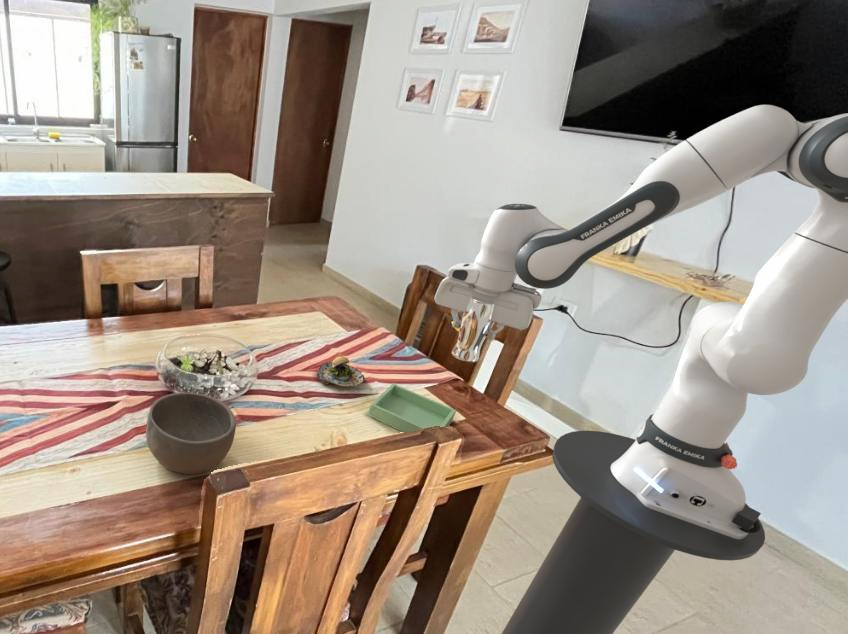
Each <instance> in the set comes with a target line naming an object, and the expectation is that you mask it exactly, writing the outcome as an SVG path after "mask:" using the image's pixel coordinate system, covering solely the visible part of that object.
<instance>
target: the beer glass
mask: <svg viewBox="0 0 848 634" xmlns="http://www.w3.org/2000/svg"><path fill="white" fill-rule="evenodd" d="M495 305H497V304H491V303H485V302H481V301H478V300H476V299H474V298H472V297H471V296H470V299H469V301H468V303H467V305H466V308H465V310H464V312H461V316H460V319H459V320H460V327H459V329H458V336H457V340H456V342H455V344H454V346H453V347H452V349H451V351H450V353H451V355H452V356H453V357H454V358H456V359H457V360H459V361H463V362H466V363H476V362H478V361H479V359H480V354H481V348H482V346H483V343H484V341H485V340H486V339H487V338H486V337H487V334H488V332H489V331H490V330H492V328H493V327H494V324H495V322H493V321H491V320H492V316H493V312H494V308H495Z"/></svg>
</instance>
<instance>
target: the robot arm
mask: <svg viewBox="0 0 848 634" xmlns="http://www.w3.org/2000/svg"><path fill="white" fill-rule="evenodd" d="M773 172H777V173H779V174H780V175H782V176H784V177H785V178H787V179H789V180H791V181H793V182H795V183H798V184H800V185H802V186H804V187H808V188H810V189H816V191H817V193H818V199H817V203H816V205H815V207H814V209H813V210H812V212H811V215H809V216H808V218H807V219H806V220H804V221H803V223H801V224H800V225H799V226H798V227H797V228H796V229H795V231H794V232H793V233H791V235H790V236H789V238H787V240H786V241H785V242H784V243H783V244H782V245H781V246H780V247H779V248H778V250H777V251H775V252H774V254H772V256H771V257H769V259H768V260H767V261H766V263H764V264H763V265H762V267H761V268H760V269H759V270H758V271H757V273H756V275H755V277H754V282H753V286H752V288H751V290H750V292H749V294H748V296H747V298H746V299H745V301H744V303H740V302H735V301H720V302H719V301H718V302H714V303H711V304H708V305H706V306H704V307H703V308H701V309H699V310H698V311H697V312H696V313H695V314H694V315H693V318H692V320H691V322H690V328H689V334H688V337H687V340H686V343H685V345H684V347H683V350H682V353H681V356H680V359H679V361H678V365H677V368H676V370H675V374H674V376H673V379H672V381H671V383H670V385H669V387H668V389H667V391H666V393H665V394H664V396H663V398H662V400H661V401H660V402H659V404H658V406H657V408H656V409H655V411H654V413H652V414H650V415H649V416H647V417H648V418H647V419H646V420H645V421H644V422H643V424H642V426H641V427H640V428H639V431H638V432H637V434H636V439H635V440H636V441H635V442H634V443H633V444H632V446H631V447H630V448H629V449H628V450H627V451H626V452H625V453H624V454H623V455H622V456H621V457H620V458H619V459H617V460H616V461H615V462H613V463H612V464H611V472H612V474H613V476H614V477H615V478H616V479H617V481H618V482H619V483H620V484H622V485H623V486H624V487H625V488H626V489H628V490H629V491H630V492H632V493H633V494H634V495H635V496H636V497H637V498H638V499H639V500H640V501H641V502H642V503H643V504H644V505H645V506H646V507H648V508H650V509H652V510H655V511H658V512H661V513H664V514H667V515H669V516H672V517H675V518H678V519H681V520H684V521H686V522H689V523H692V524H695V525H698V526H701V527H703V528H706V529H709V530H712V531H715V532H718V533H721V534H723V535H726V536H729V537H732V538H735V539H743V538H745V537H746V536H747V535H748V533H755V532H758V531H759V530H760V525H759V522H758V521H756V520H757V519H759V517H760V516H761V514H762V513H761V512H759V511H758V510H756V509H754V508H752V507H750V506H749V505H748V506H749V507H748V506H746V505H745V503H746V502H747V501H746V499H747V497H746V492H745V488H744V487H743V486H744V485H742V483H741V481H740V480H739V479H738V478H737V477H736V475H735V474H734V473H733V472H732V470H733V469H736V468H737V467H738V463H737V462H738V461H737V459H736V457H734V456H733V454H734V453H733V450H732V449H731V448H730V445H729V443H728V442H726V441H727V439H728V438H729V437H730V435H731V434H732V432H733V431H734V430H735V429H736V427H737V425H738V424H739V423H740V421H741V420H742V418H743V417H744V415H745V413H746V410H747V401H748V395H749V394H751V395H757V396H772V395H777V394H782V393H785V392H788V391H790V390H792V389H794V388H795V387H797V386H798V385H799V384H800V383H802V382H803V380H804V379H805V378H806V375H807V373H808V370H809V369H808V368H809V360H810V357H811V354H812V353H813V350H814V349H815V346H816V345H817V344H818V341H819V340H820V339H821V337H822V335H823V333H824V332H825V330H826V329H827V327H828V325H829V324H830V322H831V321H832V319H833V318H834V316H835V315H836V313H837V312H838V311H839V309H840V308H841V307H842V306H843V305H844V303H846V302H847V301H848V113H840V114H837V115H833V116H830V117H823V118H818V119H813V120H807V121H802V122H801V121H799V120H797V119H796V118H795V117H794V116H793V115H792V114H791V113H790V112H789V111H788V110H786V109H784V108H782V107H779V106H776V105H773V104H759V105H754V106H752V107H749V108H746V109H743V110H741V111H739V112H737V113H735V114H733V115H730V116H728V117H726V118H724V119H721V120H720V121H718V122H715V123H713V124H711V125H709V126H708V127H706V128H704V129H702V130H700V131H699V132H696V133H694V134H693V135H692V136H689V137H688V138H686V139H685V140H683V141H681V142H680V143H678V144H676V145H675V146H673V147H672V148H670V149H668V150H667V151H665V152H664V153H663V154H662V155H660V156H659V157H658V158H656V159H655V160H654V161H653V162H651V163H650V164H649V165H648V166H647V167H645V169H643V170H642V172H641V173H640V174H639V176H638V177H637V179H636V180H635V181H634V182H633V184H632V185H631V186H630V187H629V188H628V190H627V191H626V192H625V193H624V194H623V195H621V197H619V198H618V199H617V200H616V201H614V202H613V203H611V204H610V205H608V206H607V207H605V208H603V209H602V210H600V211H598V212H596V213H595V214H594V215H592V216H590V217H588V218H586V219H585V220H583V221H582V222H580V223H578V224H576V225H574V226H573V227H572V228H570V229H567V228H565V227H563V226H561V225H559V224H558V223H555V222H554V221H552V220H550V219H549V218H548V217H546V216H545V215H544V214H543V213H542V212H541V211H540V210H539V209H538V207H537V206H535V205H533V204H528V203H509V204H504V205H501V206H499V207H497V208H496V209H495V210H494V211H493V212H492V214H491V216H490V218H489V220H488V222H487V224H486V227H485V228H484V232H483V235H482V237H481V241H480V249H479V253H478V254H477V255H476V256H475V259H474V261H473V262H462V263H461V262H459V263H456V264H453V265H451V267H450V268H449V269H448V271H447V275H446V276H445V278H443V279H442V280H441V282H440V283H439V286H438V287H437V290H436V292H435V295H434V299H433V300H434V302H435V304H436V305H439V306H441V307H442V306H443V307H445V308H448V309H451V310H450V311H451V312H450V314H451V317H452V320H453V322H452V325H451V327H452V328H454V329H458V330H459V327H460V320H461V319H459V313H462V312H464V310H465V308H466V305H467V303H468V301H469V299H470V296H471V297H472V298H474V299H476V300H478V301H481V302H485V303H491V304H497V305H495V308H494V312H493V316H492V320H491V321H493V322H494V323H497V324H496V325H495V326H496V328H495V329H491V330H490V331H489V332H488V334H487V337H486V338H485V339H488V340H491V341H494V340H495V338H496V335H497V334H498V333H500V332H502V330H503V329H504V328H505V327H510V328H512V329H513V328H514V329H517V330H519V331H523V330H526V329H527V328H529V326H530V325H531V322H532V319H533V315H534V311H535V310H536V309H537V308H539V306H540V304H541V302H542V294H541V293H540V292H539V291H538V290H537V289H541V290H549V289H554V288H557V287H560V286H562V285H564V284H566V283H567V282H569V280H571V279H572V278H573V277H574V276H575V274H576V273H577V272H578V270H579V269H581V267H582V266H583V265H584V264H585V263H586V262H587V261H588V260H590V259H591V258H593V257H594V256H596V255H598V254H600V253H601V252H603V251H605V250H607V249H608V248H610V247H612V246H614V245H615V244H617V243H620V242H621V241H623V240H624V239H626V238H628V237H630V236H631V235H634V234H635V233H637V232H638V231H641V230H642V229H645V228H646V227H649V226H651V225H653V224H655V223H658V222H660V221H663V220H665V219H667V218H669V217H672V216H674V215H677V214H680V213H682V212H684V211H687V210H690V209H693V208H695V207H697V206H699V205H701V204H704V203H706V202H707V201H710V200H713V199H715V198H716V197H719V196H720V195H722V194H725V193H726V192H727V191H730V190H732V189H734V188H736V187H738V186H740V185H741V184H743V183H744V182H746V181H748V180H751V179H753V178H756V177H759V176H761V175H764V174H768V173H773ZM517 276H518V278H519V279H520V280H521V281H522V282H523V283H524V284H526V285H528V286H526V285H523V284H519V283H516V282H515V281H516V278H517ZM752 525H754V527H753V528H751V527H752Z"/></svg>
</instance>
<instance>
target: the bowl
mask: <svg viewBox="0 0 848 634" xmlns="http://www.w3.org/2000/svg"><path fill="white" fill-rule="evenodd" d="M236 428H237V422H236V417H235V414H234V413H233V411H232V410H231V408H230V407H229V406H228V405H227V404H225V403H224V402H222V401H221V400H219V399H217V398H215V397H212V396H210V395H208V394H202V393H199V392H198V393H197V392H190V391H189V392H185V391H184V392H183V391H181V392H174V393H170V394H166V395H163V396H161V397H159V398H157V400H155V401H154V402H153V403H152V404H151V406H150V408H149V411H148V415H147V418H146V428H145V438H146V445H147V447H148V449H149V451H150V453H151V455H153V457H154V458H155V459H156V461H157V462H158V463H159V464H160V465H161V466H163V467H164V468H165V469H167V470H170V471H172V472H174V473H175V472H176V473H180V474H186V475H195V474H202V473H206V472H209V471H210V470H212V469H214V468H215V467H218V465H219V464H221V462H222V461H223V460H224V459H225V458H226V456H227V455H228V454H229V452H230V450H231V448H232V445H233V443H234V439H235V435H236Z"/></svg>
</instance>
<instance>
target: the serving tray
mask: <svg viewBox="0 0 848 634" xmlns="http://www.w3.org/2000/svg"><path fill="white" fill-rule="evenodd" d="M456 413H457V409H455V408H452V407H449V406H447V405H445V404H443V403H440V402H438V401H435V400H434V399H432V398H429V397H426V396H424V395H422V394H420V393H417V392H415V391H412V390H410V389H407V388H405V387H403V386H401V385H399V384H396V383H394V382H393V383H391V384H390V385H389V386H388V387H387V388H386V389H385V390H384V391H383V392H382V393H381V394H380V395H379V396H378V397H376V399H375V400H374V401H373V402H372V403H371V404H370V407H369V410H368V413H367V416H369V417H370V418H373V419H374V420H376V421H379V422H382V423H383V424H385V425H387V426H389V427H391V428H393V429H396V430H398V431H400V432H402V433H404V434H406V433H410V432H414V431H418V430H421V429H423V428H427V427H433V426H440V427H448V428H449V426H450V425H451V424H452V422H453V421H454V419H455V415H456Z"/></svg>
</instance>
